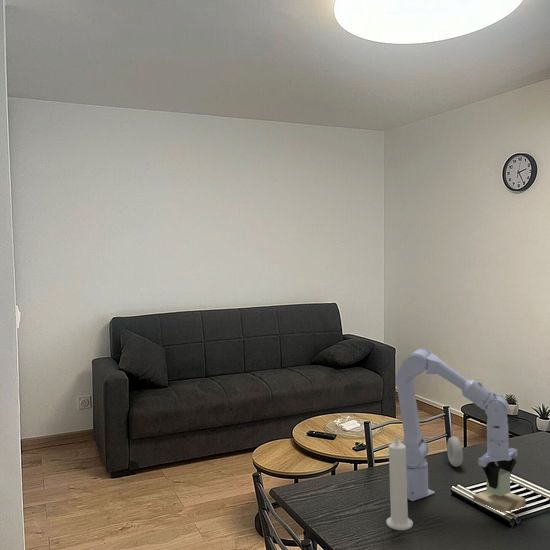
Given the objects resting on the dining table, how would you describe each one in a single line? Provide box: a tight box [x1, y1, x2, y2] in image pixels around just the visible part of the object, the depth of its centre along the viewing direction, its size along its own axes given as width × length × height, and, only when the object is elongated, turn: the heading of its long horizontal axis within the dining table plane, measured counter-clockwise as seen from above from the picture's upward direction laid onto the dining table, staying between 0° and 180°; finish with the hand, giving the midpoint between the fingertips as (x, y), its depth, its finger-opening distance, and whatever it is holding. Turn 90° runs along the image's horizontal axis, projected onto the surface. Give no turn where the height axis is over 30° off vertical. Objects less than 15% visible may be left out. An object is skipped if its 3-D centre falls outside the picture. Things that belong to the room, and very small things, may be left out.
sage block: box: [485, 469, 511, 496], centre depth 165 cm, size 4×4×6 cm
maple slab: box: [472, 489, 527, 512], centre depth 165 cm, size 10×10×3 cm
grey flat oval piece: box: [446, 436, 464, 468], centre depth 195 cm, size 10×4×10 cm, turn 179°
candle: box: [386, 433, 414, 531], centre depth 155 cm, size 7×7×25 cm
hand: (498, 485), depth 165 cm, fingers closed on sage block, 4 cm apart
